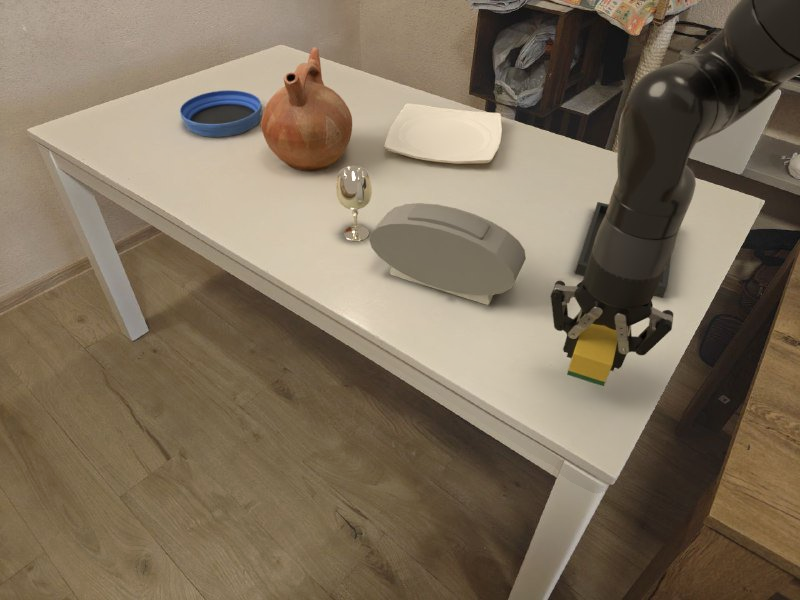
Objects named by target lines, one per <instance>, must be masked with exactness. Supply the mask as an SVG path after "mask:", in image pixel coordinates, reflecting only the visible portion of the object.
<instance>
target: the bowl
mask: <svg viewBox="0 0 800 600" xmlns="http://www.w3.org/2000/svg"><path fill="white" fill-rule="evenodd" d="M262 109H263V105H262V101H261V99H260V98H259V97H258V96H257V95H255V94H253V93H251V92H246V91H241V90H235V89H234V90H233V89H232V90H230V89H226V90H215V91H209V92H204V93H201V94H198V95H196V96H193V97H191V98H190V99H187V100H186V101H185V102H184V103H182V104H181V106H180V109H179V113H180V118H181V119H182V122H184V124H185V126H186V128H187V129H188V130H189V131H190V132H192V133H193V134H195V135H199V136H202V137H211V138H223V137H230V136H235V135H241V134H243V133H246V132H247V131H250V130H251V129H253V128H255V127H256V126H257V125H258V124H259V123H260V122H261V120H262V112H263V111H262Z"/></svg>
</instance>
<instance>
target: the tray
mask: <svg viewBox="0 0 800 600" xmlns="http://www.w3.org/2000/svg"><path fill="white" fill-rule="evenodd" d="M608 206H609V203H604V202H599V201H597V203H596V206H595V208H594V211H593V215H592V218H591V221H590V224H589V227H588V230H587V233H586V237H585V240H584V243H583V246H582V249H581V252H580V255H579V258H578V261H577V265H576V268H575V271H574V274H575V275H578V276H582V277H584V275H585V272H586V269H587V265H588V262H589V259H590V256H591V252H592V249H593V246H594V242H595V237H596V235H597V233H598V230H599V227H600V225H601V223H602V221H603V219H604V217H605V214H606V212H607V209H608ZM671 260H672V255H671V256H670V258H669V261H668V263H667V265H666V268H665V270H664V272H663V275H662V277H661V279H660V282H659V284H658V286H657V288H656V291H655V293H654V295H653V296H655V297H659V298H663V297H664V295H665V293H666V291H667V289H668V285H669V284H668V282H669V276H670V269H671V268H670V267H671Z"/></svg>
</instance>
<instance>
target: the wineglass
mask: <svg viewBox="0 0 800 600" xmlns="http://www.w3.org/2000/svg"><path fill="white" fill-rule="evenodd" d="M372 189H373V188H372V183H371V179H370V175H369V172H368V169H366V168H365V167H363V166H360V165H348V166H345V167H343V168H341V169H339V171H338V175H337V180H336V197H337V200H338V202H339V203H340V205H341V206H343V207H344V208H346V209H348V210H352V211H351V213H352V216H353V219H354V221H353V222H354V225H351V226H348V227H346V229H345V230H344V231H343V236H344V238H345V239H346V240H348V241H352V242H361V241H364V240H366V239H367V238H368V237H369V236H370V231H369V229H368V228H366V227H365V226H364V225H363V226H362V225H358V215H359V210H360V209H363V208H365V207H366V206H367V205H368V204H369V203H370V201H371V199H372V193H373V191H372Z"/></svg>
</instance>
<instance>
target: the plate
mask: <svg viewBox="0 0 800 600" xmlns="http://www.w3.org/2000/svg"><path fill="white" fill-rule="evenodd" d="M388 130H389V131H388V133H387V135H386V139H385V143H384V147H383V148H384V149H385V150H387V151H388V152H391V153H394V154H398V155H402V156H405V157H409V158H412V159H416V160H421V161H422V160H423V161H429V162H435V163H444V164H454V165H463V164H466V165H467V164H487V163H490V162H492V160H493V159H494V157H495V155H496V154H497V153H498V150H499V147H500V144H501V142H502V134H503V133H502V132H503V129H502V114H501V113H499V112H487V111H477V110H476V111H475V110H473V111H472V110H464V109H456V108H455V109H454V108H446V107H436V106H429V105H424V104H416V103H411V102H409V103H408V102H407V103H405V105H404V106H403V107H402V109H401V111H400V112H399V113H398V114H397V116H396V117H395V119H394V121H393V122H392V124H391V126H390V128H389V129H388Z"/></svg>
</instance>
